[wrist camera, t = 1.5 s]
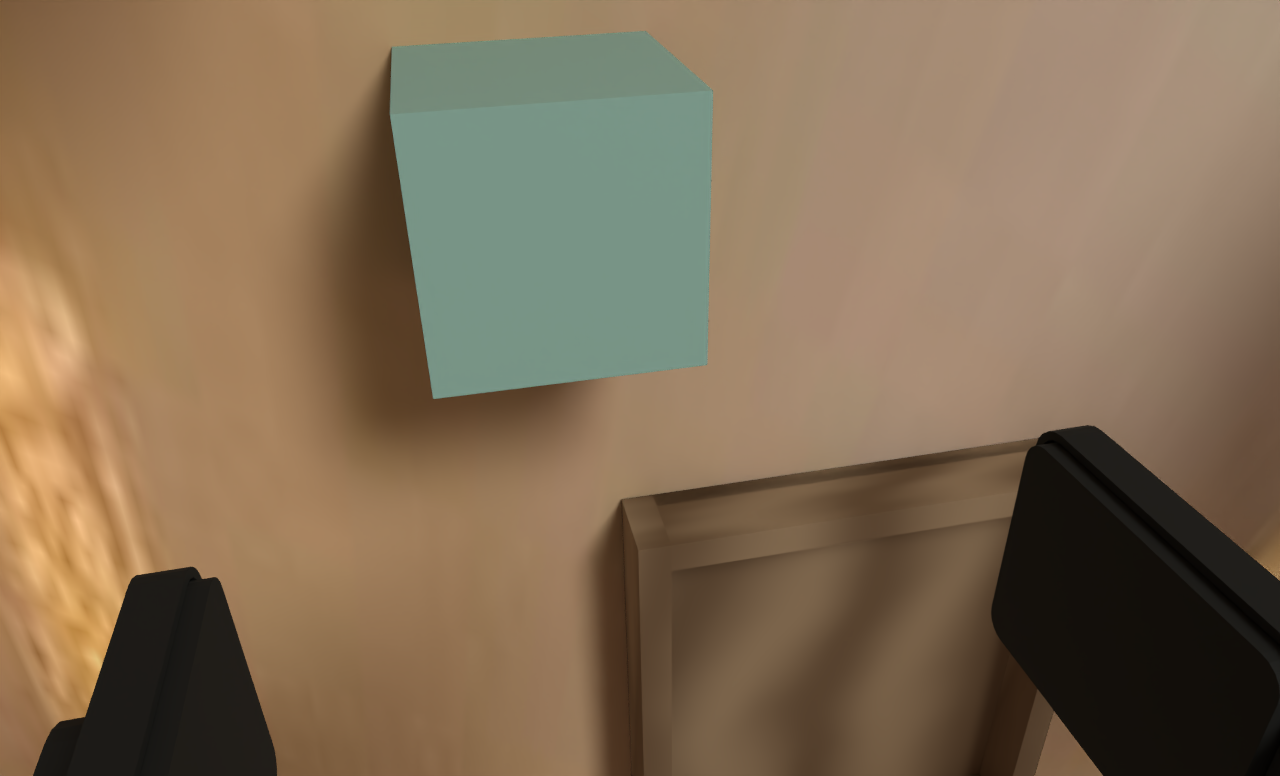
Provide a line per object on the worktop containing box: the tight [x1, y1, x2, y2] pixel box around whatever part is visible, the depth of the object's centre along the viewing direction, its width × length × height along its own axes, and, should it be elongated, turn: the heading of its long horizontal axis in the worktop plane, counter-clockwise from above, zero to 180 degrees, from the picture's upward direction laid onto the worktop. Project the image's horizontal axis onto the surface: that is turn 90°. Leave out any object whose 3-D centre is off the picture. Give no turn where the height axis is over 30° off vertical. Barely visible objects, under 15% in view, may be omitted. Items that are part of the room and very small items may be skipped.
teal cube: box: [390, 31, 713, 399], centre depth 22 cm, size 6×6×6 cm
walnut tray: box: [622, 438, 1054, 776], centre depth 35 cm, size 16×18×2 cm
